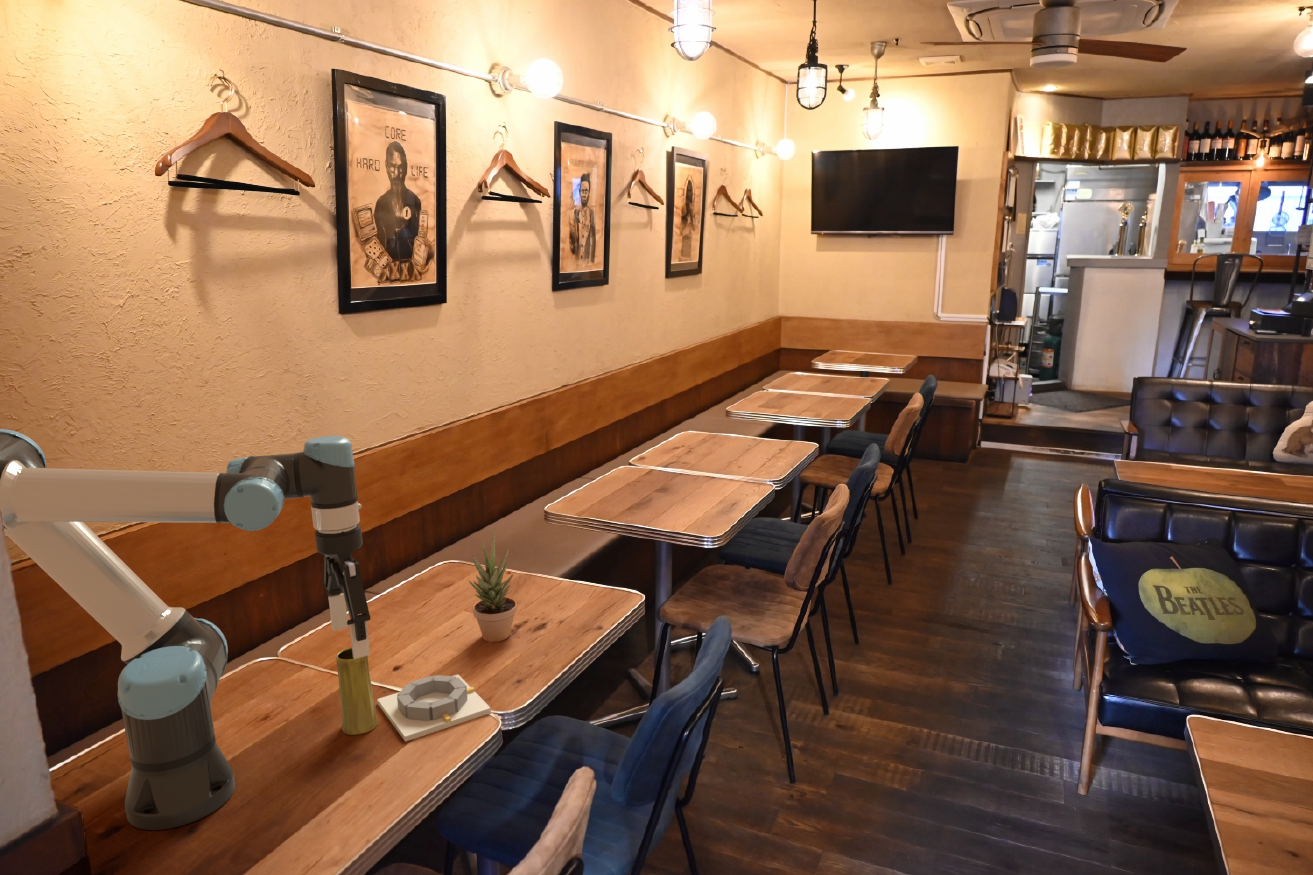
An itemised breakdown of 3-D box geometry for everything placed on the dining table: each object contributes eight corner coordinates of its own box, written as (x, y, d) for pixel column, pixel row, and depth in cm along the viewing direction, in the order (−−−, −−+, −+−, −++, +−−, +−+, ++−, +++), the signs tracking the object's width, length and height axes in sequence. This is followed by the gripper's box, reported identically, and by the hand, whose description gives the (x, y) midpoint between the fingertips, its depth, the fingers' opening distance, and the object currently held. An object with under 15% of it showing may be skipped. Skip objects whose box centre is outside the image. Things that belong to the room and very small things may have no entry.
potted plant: (510, 646, 187) (503, 536, 182) (468, 644, 188) (459, 535, 183) (525, 626, 197) (518, 521, 191) (484, 624, 198) (476, 520, 193)
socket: (405, 741, 152) (403, 723, 151) (377, 703, 165) (375, 686, 164) (491, 712, 161) (489, 695, 160) (458, 678, 174) (457, 662, 173)
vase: (366, 736, 154) (358, 662, 151) (335, 733, 155) (326, 659, 152) (383, 718, 160) (376, 646, 156) (353, 715, 161) (345, 644, 158)
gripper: (381, 541, 141) (394, 662, 146) (340, 506, 161) (352, 613, 166) (334, 551, 137) (348, 675, 142) (297, 513, 157) (311, 623, 162)
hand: (350, 642), depth 154 cm, fingers open, 13 cm apart
